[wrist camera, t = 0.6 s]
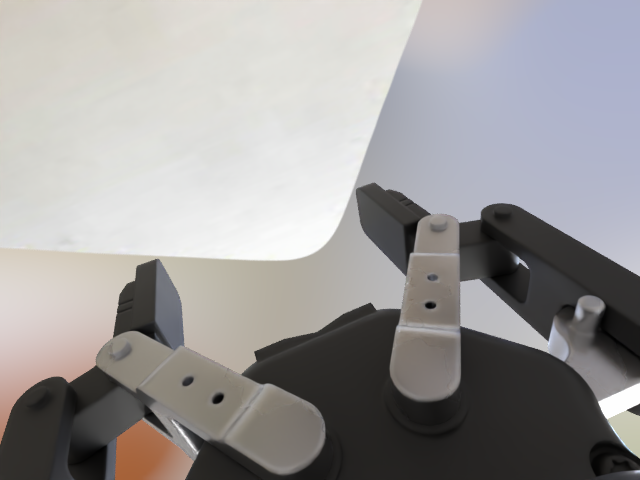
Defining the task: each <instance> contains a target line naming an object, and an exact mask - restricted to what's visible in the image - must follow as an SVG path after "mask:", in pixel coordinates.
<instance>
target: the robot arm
mask: <svg viewBox="0 0 640 480" xmlns="http://www.w3.org/2000/svg"><path fill="white" fill-rule="evenodd" d="M356 197H357V203H358V210H359V216H360V222H361V226H362V228H363V230H364V232H365V234H366V235H367V236H368V237H369V238H370V239H371V240H372V241H373V242H374V243H375V244H376V246H378V248H379V249H380V250H381V251H382V252H383V253H384V254H385V255H386V256H387V257H388V258H389V259H390V260H391V261H392V262H393V263H394V264H395V265H396V266H397V267H398V268H399V269H400V270H401V271H402V273H403V274H404V275H405V276H406V283H405V289H404V296H403V302H402V309H381V310H376V309H375V308H374V306H373V305H372V304H371V303H369V304H366V305H364V306H361V307H359V308H357V309H354V310H352V311H350V312H347V313H345V314H343V315H341V316H340V317H339V318H337V319H336V320H334V321H333V322H331V323H330V324H329V325H327V326H326V327H324V328H323V329H321V330H320V331H318V332H315V333H311V334H307V335H301V336H297V337H292V338H288V339H283V340H281V341H279V342H276V343H274V344H271V345H269V346H267V347H264V348H262V349H260V350H257V351H255V352H254V353H255V356H256V360H257V362H255V363H254V364H252V365H251V366H250V367H249V368H248V369H246V371H244V373H242V374H239V373H237V372H235V371H233V370H231V369H229V368H227V367H225V366H223V365H221V364H219V363H217V362H214V361H213V360H211V359H209V358H207V357H205V356H203V355H201V354H199V353H197V352H195V351H193V350H191V349H189V348H187V347H185V346H184V335H183V321H182V306H181V301H180V297H179V295H178V292H177V290H176V288H175V286H174V285H173V283H172V281H171V279H170V277H169V275H168V274H167V272H166V270H165V268H164V267H163V265H162V263H161V262H160V260H159V259H155V260H153V261H150V262H147V263H144V264H141V265H138V266H137V268H136V278H135V281H133V282H130V283H128V284H127V285H126V286H125V288H124V289H123V290H122V292H121V293H120V296H119V303H118V304H119V306H118V309H117V313H118V314H117V316H116V322H115V329H114V335H113V339H111V340H110V341H108V342H107V343H106V344H105V345H104V346H103V347H102V348H101V350H100V351H99V353H98V354H97V357H96V366H95V367H94V368H92V369H91V370H89V371H88V372H86V373H84V374H83V375H81V376H80V377H78V378H76V379H75V380H73V381H72V382H70V383H68V382H67V381H66V380H65V379H64V378H62V377H51V378H48V379H45V380H43V381H41V382H39V383H37V384H35V385H34V386H33V387H31V388H30V389H28V390H27V391H26V392H25V393H24V394H23V395H22V396H21V397H20V398H19V399H18V400H17V402H16V403H15V404H14V406H13V408H12V410H11V413H10V416H9V419H8V422H7V425H6V428H5V432H4V435H3V438H2V441H1V444H0V480H115V463H116V440H117V438H116V437H118V436H119V435H120V434H122V433H123V432H125V431H126V430H127V429H129V428H130V427H131V426H133V425H134V424H135V423H137V422H138V421H140V420H141V419H142V420H143V421H145V422H146V423H147V424H149V425H150V426H151V427H153V428H154V429H155V430H157V431H158V432H159V433H161V434H162V435H164V436H165V437H166V438H168V439H169V440H170V441H172V442H173V443H174V444H176V445H177V446H179V447H180V448H181V449H182V450H183V451H184V452H185V453H186V454H187V455H188V456H189V457H190V458H191V459H192V460H193V461H194V463H193V465H192V467H191V469H190V471H189V473H188V475H187V477H186V479H185V480H640V459H639V458H638V457H637V456H636V455H635V454H634V453H633V452H631V451H630V450H629V449H628V448H627V446H626V445H625V444H624V443H623V441H622V440H621V439H620V438H619V436H618V435H617V434H616V432H615V431H614V429H613V428H612V427H611V425H610V424H609V422H608V420H607V418H609V417H612V416H614V415H616V414H618V413H620V412H622V411H625V410H627V411H629V412H631V413H634V414H636V415H639V416H640V276H638V275H636V274H634V273H633V272H631V271H629V270H627V269H626V268H624V267H622V266H620V265H619V264H617V263H615V262H614V261H611V260H610V259H608V258H607V257H605V256H603V255H601V254H600V253H598V252H596V251H595V250H593V249H591V248H589V247H588V246H586V245H584V244H582V243H581V242H579V241H577V240H575V239H573V238H572V237H570V236H568V235H567V234H565V233H563V232H562V231H560V230H558V229H556V228H554V227H553V226H551V225H549V224H547V223H546V222H544V221H543V220H541V219H539V218H537V217H536V216H534V215H532V214H530V213H529V212H527V211H525V210H523V209H522V208H520V207H518V206H515V205H512V204H503V203H501V204H492V205H489V206H487V207H485V208H484V209H483V210H482V211H481V220H476V221H470V222H463V223H459V222H458V220H457V219H456V218H454V217H453V216H450V215H446V214H433V215H431V214H430V213H428V212H427V211H426V210H424V209H423V208H421V207H420V206H418V205H417V204H415V203H414V202H413V201H412V200H410V199H408V198H407V197H406V196H404V195H403V194H402V193H400V192H397V191H393V190H386V191H385V190H383V189H382V188H381V187H380V186H378V185H377V184H376V183H371V184H368V185H365V186H363V187H360V188H357V189H356ZM519 259H521V260H523V261H524V262H525V263H526V264H527V266H528V268H529V269H527V268H526V267H525V266H523V265H522V264H521V263H519ZM475 279H480V280H481V281H482V282H483V283H484V284H486V285H487V286H488V287H489V288H490V289H491V290H492V291H493V292H494V293H496V294H497V295H498V296H499V297H500V298H501V299H502V300H503V301H504V302H505V303H507V304H508V305H509V306H510V307H511V308H512V309H513V310H514V311H515V312H516V313H517V314H519V315H520V316H521V317H522V318H523V319H524V320H525V321H526V322H528V323H529V324H530V325H531V326H532V327H533V328H534V329H535V330H536V331H538V332H539V333H540V334H541V335H542V336H543V337H544V338H545V339H546V340H547V341H548V350H549V353H550V354H549V353H547V352H544V351H541V350H538V349H535V348H532V347H528V346H525V345H522V344H518V343H515V342H511V341H508V340H505V339H501V338H498V337H495V336H491V335H488V334H485V333H482V332H478V331H475V330H472V329H468V328H465V327H461V326H460V282H461V281H468V280H475Z"/></svg>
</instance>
